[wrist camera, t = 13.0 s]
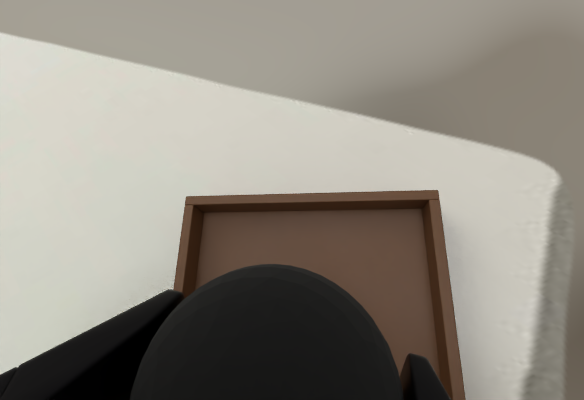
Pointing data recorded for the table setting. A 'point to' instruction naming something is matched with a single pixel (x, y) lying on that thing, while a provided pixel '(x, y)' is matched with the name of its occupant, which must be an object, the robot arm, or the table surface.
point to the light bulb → (268, 343)
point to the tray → (340, 258)
